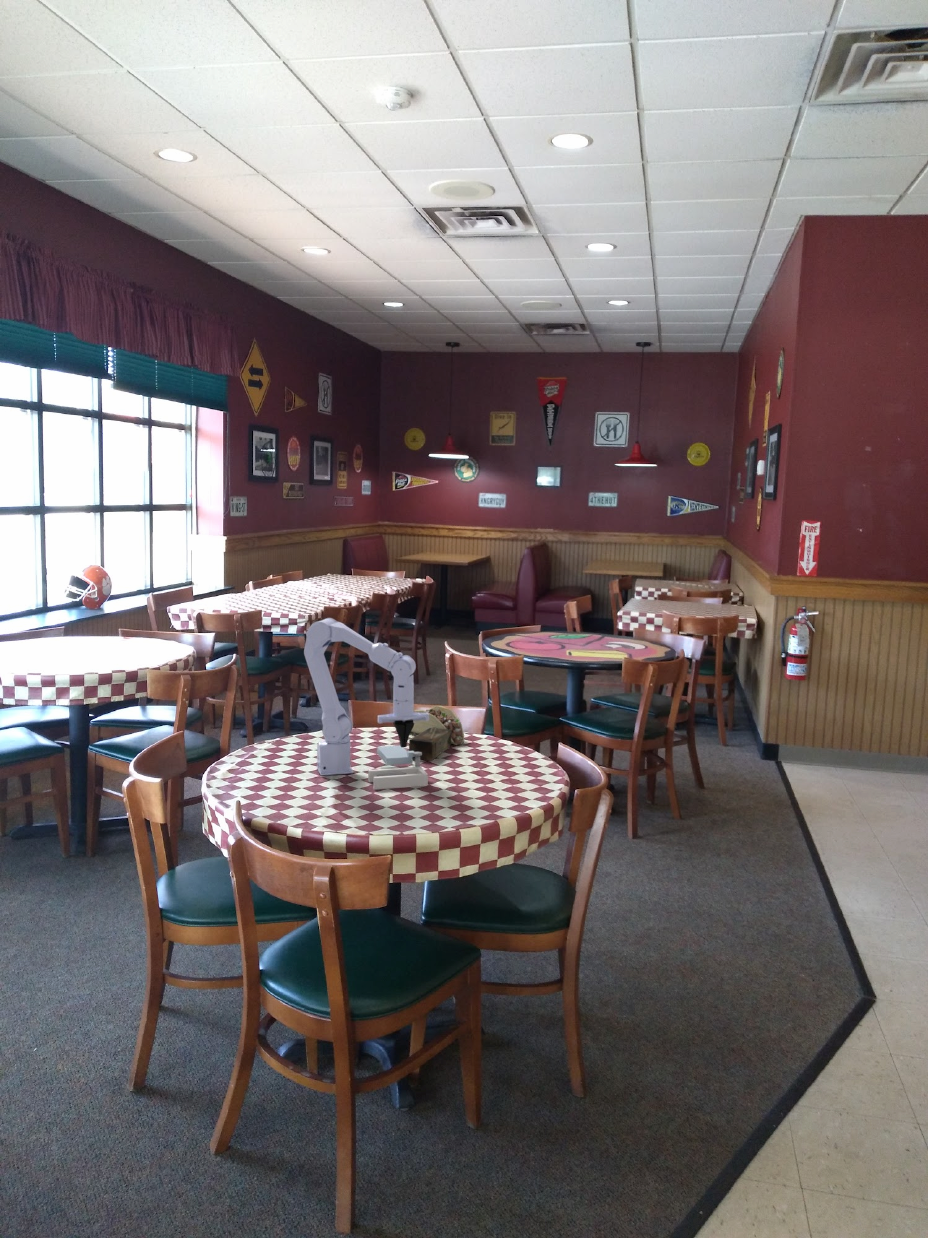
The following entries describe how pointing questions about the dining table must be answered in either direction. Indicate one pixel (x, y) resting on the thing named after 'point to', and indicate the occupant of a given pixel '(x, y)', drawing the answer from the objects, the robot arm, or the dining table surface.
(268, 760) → the dining table surface
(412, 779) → the duct
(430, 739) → the brown box-shaped piece
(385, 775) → the dark grey cylinder
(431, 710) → the taco
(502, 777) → the dining table surface
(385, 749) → the cover
